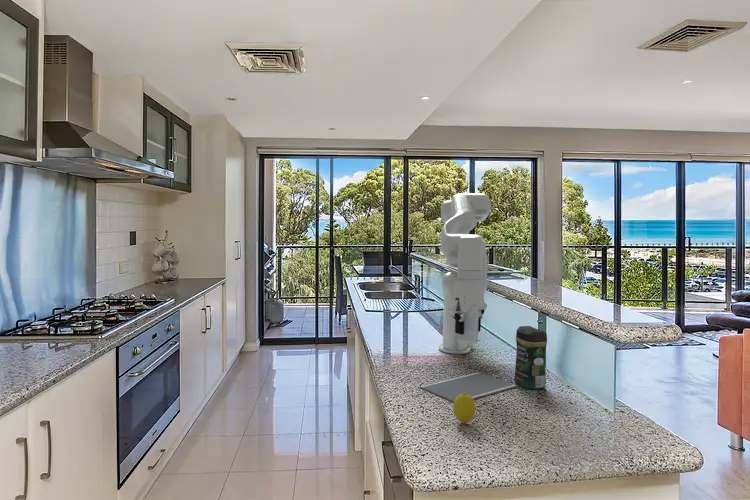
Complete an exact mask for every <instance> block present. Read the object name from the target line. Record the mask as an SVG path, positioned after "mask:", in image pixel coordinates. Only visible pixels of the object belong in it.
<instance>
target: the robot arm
mask: <svg viewBox="0 0 750 500" xmlns="http://www.w3.org/2000/svg"><path fill="white" fill-rule="evenodd" d="M491 209H492V203H491V200H490V197H489V196H488V195H487V194H486V193H480V192H476V193H475V192H474V193H472V192H471V193H470V192H461V193H456V194H454V195H453V196H452V197H451V199H448V200H445V201H443V202H442V203H441V206H440V217H441V221H442V224H443V225H442V228H441V230H440V249H441V253H442V255H444V256H445V259H446V264H447V266H448V267H450V268H452V269H453V268H454V269H457V271H448V272H446V273H444V274H443V276H442V280H441V286H442V295H443V296H442V297H443V316H442V317H443V321H442V324H443V325H442V344H440V345H438V350H439V351H440V352H442V353H445V354H455V355H461V354H469V353H470V352H471V351H472V349H471V347H470V346H469V345H470V344H469V343H458V342H457V336H458V334H461V335H463V334H464V322H463V319H464V316H465V313H469V312H471V309H472V306H473V305H478V311H479V319H478V333H479V332H481V325H482V324H481V323H482V319H483V315H484V314H485V311H486V309H487V308H488V304H487V303H486V302H485V301H484V300H485V294H486V293H487V290H488V289H487V288H488V254H487V250H486V241H485V239H484V238H483V236H482V235H479V234H469V232H470V231H472V230H474V228H475V227H476V225H477V223H478V222H479V223H481V222H484V221H485V220H486V219H487V217H488V216H489V215H490V212H491ZM459 309H461V311H459ZM459 313H461V315H460V316H459Z"/></svg>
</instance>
